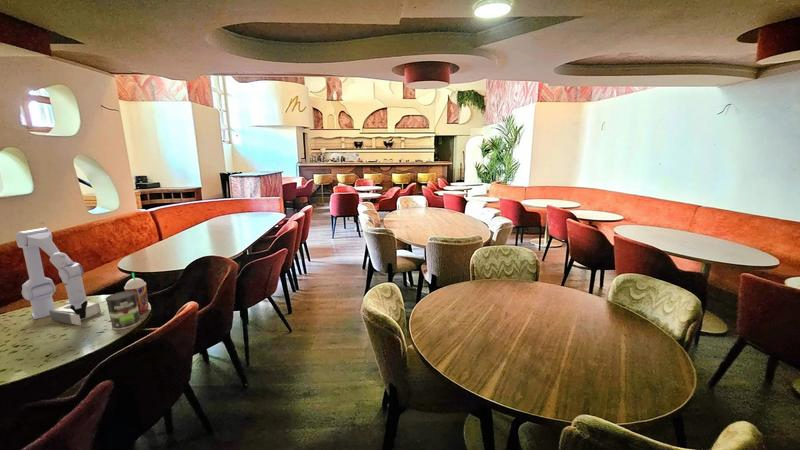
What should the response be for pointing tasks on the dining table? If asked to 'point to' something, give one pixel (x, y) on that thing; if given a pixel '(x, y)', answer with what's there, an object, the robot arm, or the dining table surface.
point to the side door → (65, 317)
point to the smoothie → (138, 292)
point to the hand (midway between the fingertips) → (82, 318)
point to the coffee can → (123, 310)
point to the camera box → (91, 309)
